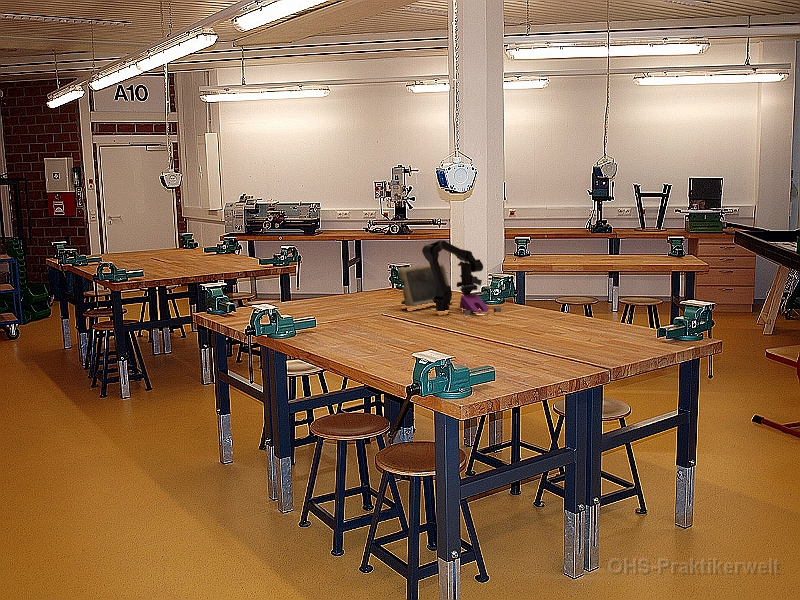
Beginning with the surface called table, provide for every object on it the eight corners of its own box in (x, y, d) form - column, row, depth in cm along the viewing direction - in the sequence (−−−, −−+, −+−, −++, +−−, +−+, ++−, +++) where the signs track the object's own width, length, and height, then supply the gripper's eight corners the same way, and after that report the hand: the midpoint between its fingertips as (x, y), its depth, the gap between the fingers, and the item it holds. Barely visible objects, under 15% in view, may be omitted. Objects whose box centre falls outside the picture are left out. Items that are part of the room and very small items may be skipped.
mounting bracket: (488, 324, 442) (474, 306, 456) (491, 311, 438) (476, 293, 451) (473, 326, 438) (458, 308, 452) (476, 313, 434) (461, 295, 448)
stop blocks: (465, 318, 430) (465, 311, 430) (463, 317, 433) (463, 310, 433) (501, 315, 435) (500, 307, 434) (499, 314, 438) (498, 306, 437)
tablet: (414, 312, 458) (412, 268, 455) (397, 310, 468) (395, 267, 465) (454, 304, 480) (452, 261, 476) (437, 302, 490) (435, 260, 486)
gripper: (485, 273, 447) (486, 302, 449) (474, 270, 465) (475, 297, 467) (466, 275, 444) (467, 303, 447) (455, 272, 462) (456, 299, 465)
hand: (467, 301), depth 456 cm, fingers closed
